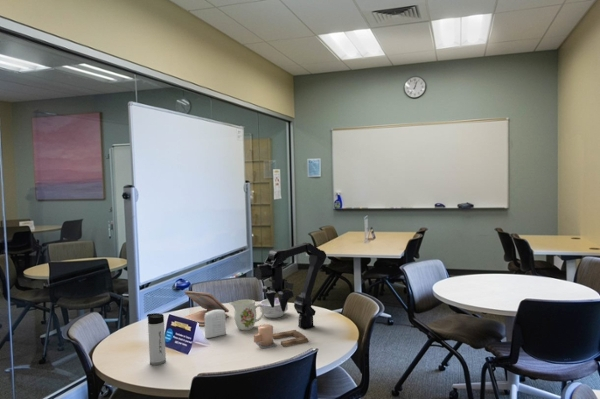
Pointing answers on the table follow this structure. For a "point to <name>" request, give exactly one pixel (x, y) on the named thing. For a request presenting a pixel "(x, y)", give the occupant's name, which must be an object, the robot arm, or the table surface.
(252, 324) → the pitcher
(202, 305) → the case
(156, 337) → the travel mug
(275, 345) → the mat
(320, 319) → the table surface
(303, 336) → the brown u-shaped piece
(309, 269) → the robot arm
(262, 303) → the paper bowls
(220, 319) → the white tombstone
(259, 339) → the peach rounded canister
